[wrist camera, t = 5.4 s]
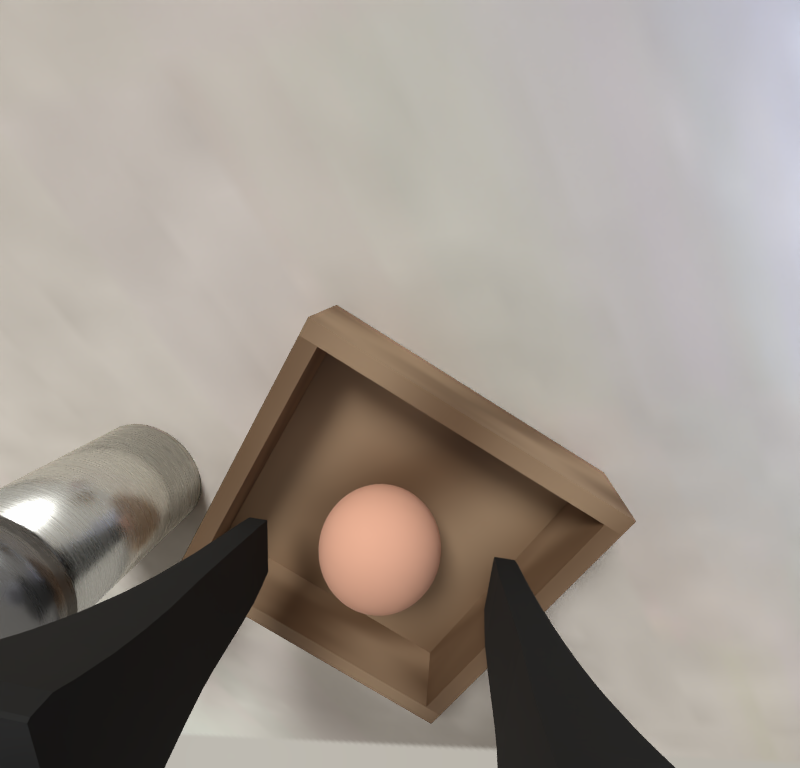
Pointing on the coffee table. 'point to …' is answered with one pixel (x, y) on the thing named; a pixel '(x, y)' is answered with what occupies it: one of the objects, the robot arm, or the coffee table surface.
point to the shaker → (88, 522)
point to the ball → (379, 549)
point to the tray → (428, 480)
